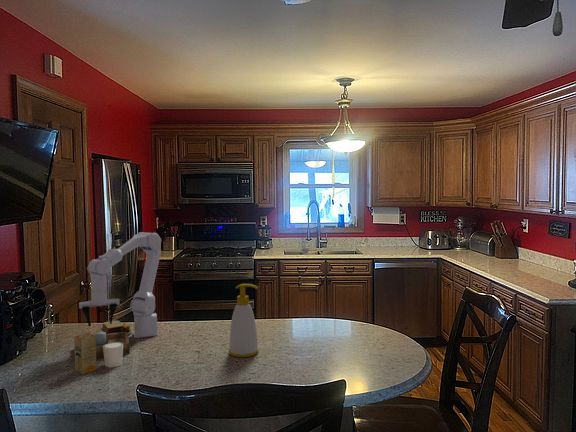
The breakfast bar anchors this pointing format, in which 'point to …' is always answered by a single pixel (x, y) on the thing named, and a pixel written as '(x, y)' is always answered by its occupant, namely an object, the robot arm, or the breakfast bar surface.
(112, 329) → the toy sandwich meal
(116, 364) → the white cup
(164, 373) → the breakfast bar surface
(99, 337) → the peg
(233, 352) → the soap bottle
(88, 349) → the shoe polish box
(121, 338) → the box with square hole
